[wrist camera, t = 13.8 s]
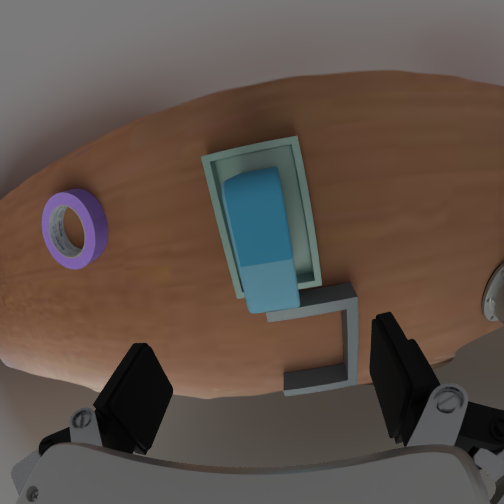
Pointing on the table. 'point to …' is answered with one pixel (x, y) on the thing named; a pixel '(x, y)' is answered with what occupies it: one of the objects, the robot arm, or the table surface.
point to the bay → (347, 372)
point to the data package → (261, 239)
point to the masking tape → (90, 219)
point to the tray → (294, 194)
